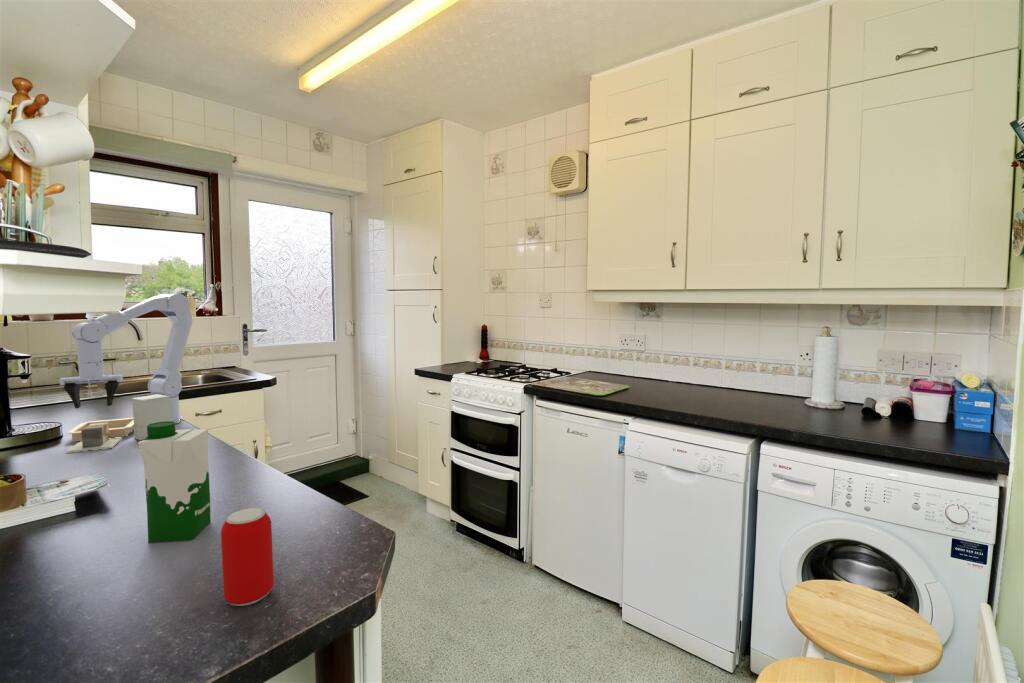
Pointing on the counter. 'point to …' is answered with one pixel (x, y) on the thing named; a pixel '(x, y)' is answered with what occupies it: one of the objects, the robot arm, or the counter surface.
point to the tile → (107, 444)
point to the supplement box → (149, 412)
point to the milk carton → (176, 482)
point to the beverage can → (247, 556)
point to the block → (95, 435)
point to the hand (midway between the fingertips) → (94, 406)
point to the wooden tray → (115, 428)
